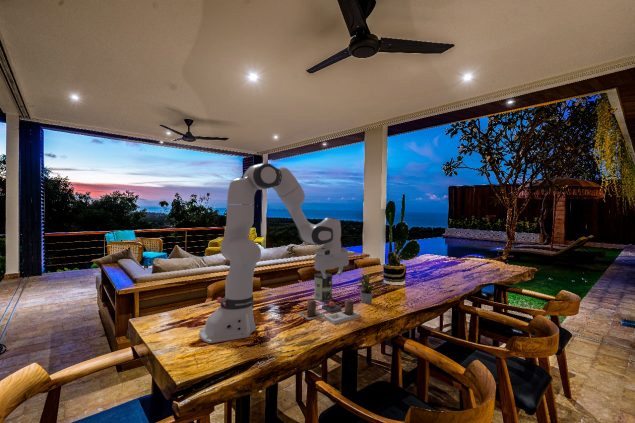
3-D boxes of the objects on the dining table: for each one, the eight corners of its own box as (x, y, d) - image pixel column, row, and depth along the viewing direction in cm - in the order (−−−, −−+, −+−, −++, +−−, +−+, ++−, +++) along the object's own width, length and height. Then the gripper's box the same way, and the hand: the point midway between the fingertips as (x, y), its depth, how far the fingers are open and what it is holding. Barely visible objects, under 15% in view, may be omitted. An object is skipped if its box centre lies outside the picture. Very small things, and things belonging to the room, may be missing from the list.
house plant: (347, 299, 169) (348, 271, 169) (369, 297, 173) (370, 269, 173) (358, 307, 155) (359, 276, 155) (382, 305, 160) (382, 275, 159)
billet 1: (310, 318, 138) (310, 303, 138) (305, 315, 142) (305, 300, 142) (317, 316, 141) (317, 301, 141) (312, 313, 144) (312, 299, 144)
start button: (331, 309, 148) (331, 303, 148) (327, 307, 150) (327, 302, 150) (335, 308, 149) (335, 302, 149) (332, 306, 152) (332, 301, 151)
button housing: (330, 314, 145) (330, 309, 145) (321, 310, 150) (321, 305, 150) (341, 312, 149) (341, 307, 149) (332, 307, 154) (332, 303, 154)
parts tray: (308, 322, 135) (308, 318, 135) (298, 315, 142) (298, 312, 142) (324, 318, 140) (324, 314, 140) (313, 312, 147) (313, 309, 147)
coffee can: (333, 297, 173) (333, 273, 173) (330, 302, 163) (331, 277, 163) (316, 295, 175) (316, 272, 175) (312, 301, 165) (312, 276, 165)
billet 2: (348, 318, 138) (348, 303, 137) (342, 315, 141) (343, 301, 141) (354, 316, 140) (355, 302, 140) (349, 314, 143) (349, 299, 143)
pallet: (333, 326, 131) (333, 320, 131) (324, 321, 136) (324, 315, 136) (360, 319, 140) (360, 313, 140) (350, 314, 146) (350, 309, 146)
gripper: (343, 246, 158) (343, 272, 158) (312, 250, 145) (312, 278, 146) (351, 248, 153) (351, 274, 153) (320, 252, 140) (320, 281, 141)
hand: (332, 276), depth 149 cm, fingers open, 8 cm apart
